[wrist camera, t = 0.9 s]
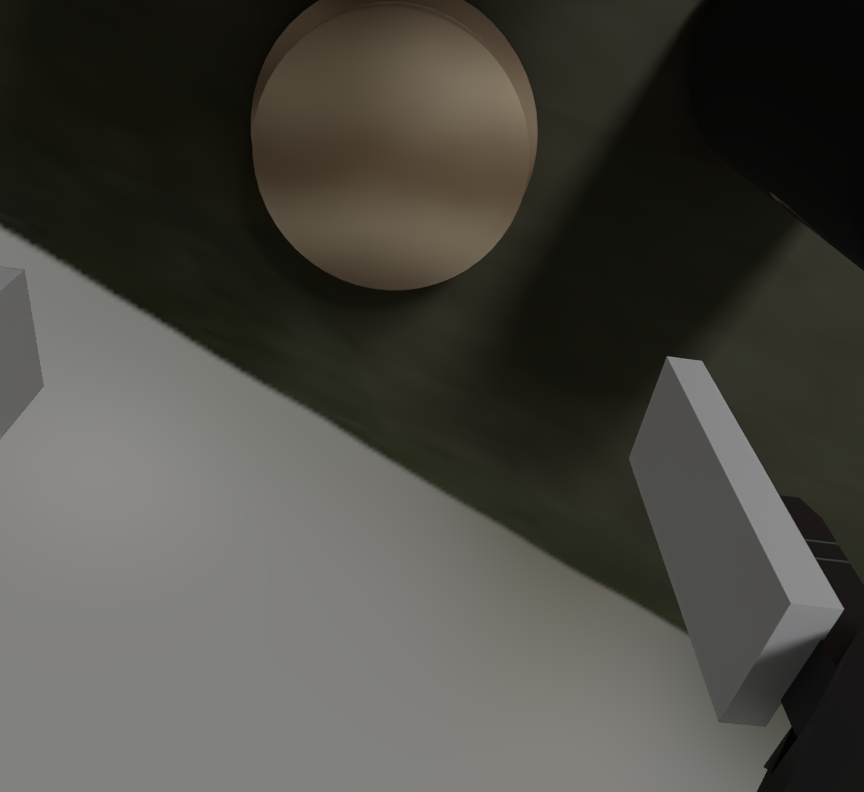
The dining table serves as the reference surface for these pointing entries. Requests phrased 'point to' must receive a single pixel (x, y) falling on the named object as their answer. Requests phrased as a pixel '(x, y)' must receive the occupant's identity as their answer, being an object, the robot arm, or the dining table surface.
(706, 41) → the coffee jar
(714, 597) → the robot arm
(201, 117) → the dining table surface
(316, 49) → the pedestal
